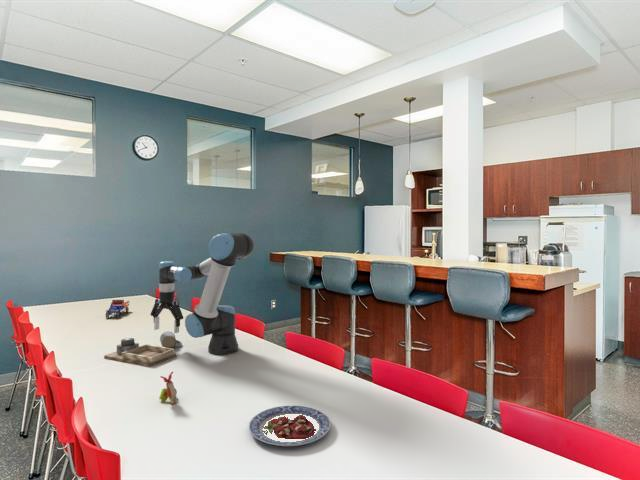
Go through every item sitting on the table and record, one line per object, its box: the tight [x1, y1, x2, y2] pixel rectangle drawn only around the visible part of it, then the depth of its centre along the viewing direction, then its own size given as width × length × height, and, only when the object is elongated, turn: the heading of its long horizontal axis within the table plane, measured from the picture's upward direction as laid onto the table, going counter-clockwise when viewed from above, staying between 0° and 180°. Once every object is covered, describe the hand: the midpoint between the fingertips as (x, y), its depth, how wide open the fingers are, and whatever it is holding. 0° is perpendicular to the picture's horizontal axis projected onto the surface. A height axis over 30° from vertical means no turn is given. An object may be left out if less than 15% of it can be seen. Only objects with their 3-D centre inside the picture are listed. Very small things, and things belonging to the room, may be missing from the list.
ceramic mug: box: [159, 330, 183, 349], centre depth 215 cm, size 11×8×8 cm
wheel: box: [120, 337, 135, 346], centre depth 201 cm, size 6×6×6 cm
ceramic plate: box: [248, 405, 332, 447], centre depth 129 cm, size 26×26×3 cm
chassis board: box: [103, 342, 177, 368], centre depth 198 cm, size 29×17×5 cm, turn 67°
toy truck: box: [105, 299, 130, 319], centre depth 289 cm, size 8×25×11 cm, turn 6°
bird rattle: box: [158, 371, 178, 405], centre depth 148 cm, size 6×11×9 cm
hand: (166, 331), depth 214 cm, fingers open, 13 cm apart
